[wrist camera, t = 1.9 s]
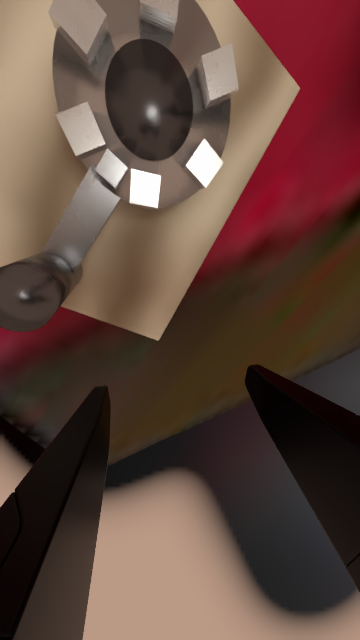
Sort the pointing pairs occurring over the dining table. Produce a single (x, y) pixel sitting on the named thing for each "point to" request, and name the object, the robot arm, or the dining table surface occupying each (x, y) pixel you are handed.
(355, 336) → the dining table surface
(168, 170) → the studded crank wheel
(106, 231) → the birch board
